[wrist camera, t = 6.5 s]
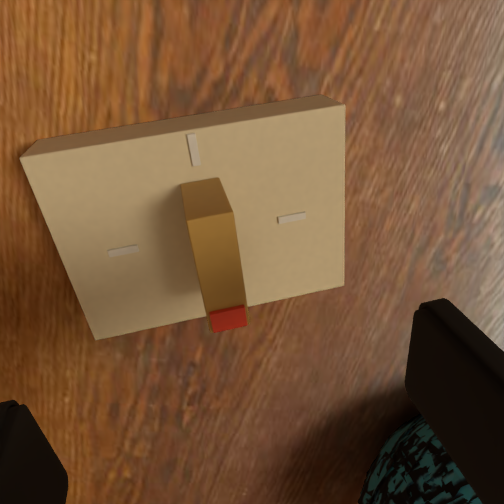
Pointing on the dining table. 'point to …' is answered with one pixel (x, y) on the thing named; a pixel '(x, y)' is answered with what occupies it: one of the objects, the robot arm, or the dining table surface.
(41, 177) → the lock plate
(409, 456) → the decorative sphere
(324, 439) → the dining table surface
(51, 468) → the robot arm
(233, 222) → the lock knob
